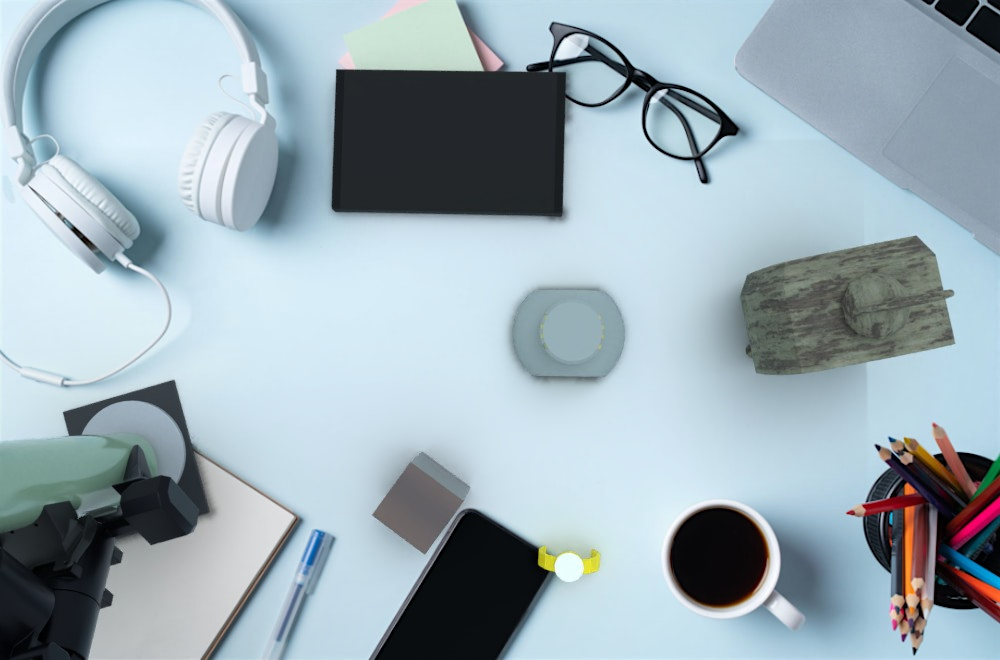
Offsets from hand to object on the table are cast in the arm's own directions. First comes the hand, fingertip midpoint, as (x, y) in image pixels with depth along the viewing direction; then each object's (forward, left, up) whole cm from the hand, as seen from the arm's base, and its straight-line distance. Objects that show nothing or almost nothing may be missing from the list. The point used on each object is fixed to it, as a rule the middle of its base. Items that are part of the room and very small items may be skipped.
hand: (102, 457), depth 74 cm
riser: (-4, -30, -7) cm, 31 cm away
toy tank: (+14, -67, -7) cm, 69 cm away
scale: (-1, 0, -7) cm, 7 cm away
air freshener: (+12, -44, -7) cm, 46 cm away
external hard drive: (+31, -32, -7) cm, 46 cm away
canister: (-1, 0, -3) cm, 3 cm away
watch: (-10, -44, -7) cm, 46 cm away
